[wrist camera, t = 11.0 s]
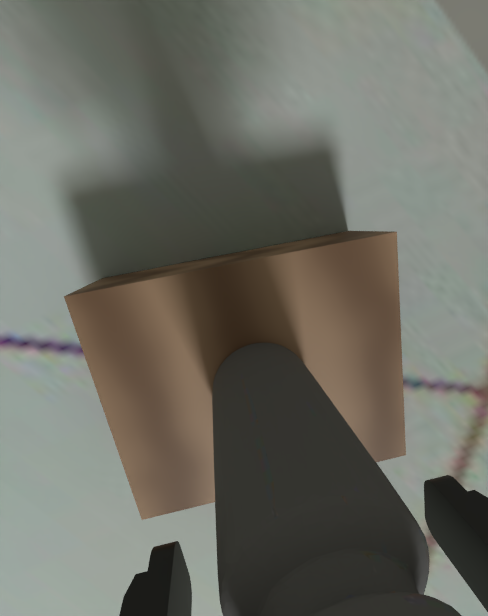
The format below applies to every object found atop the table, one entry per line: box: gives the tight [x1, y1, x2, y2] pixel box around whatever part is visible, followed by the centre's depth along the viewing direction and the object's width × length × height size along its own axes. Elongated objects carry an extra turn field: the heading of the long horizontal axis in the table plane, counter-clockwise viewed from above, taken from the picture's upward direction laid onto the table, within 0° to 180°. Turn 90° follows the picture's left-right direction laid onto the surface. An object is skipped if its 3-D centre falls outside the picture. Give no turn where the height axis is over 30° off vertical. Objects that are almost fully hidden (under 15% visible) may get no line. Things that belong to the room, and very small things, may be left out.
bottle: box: [212, 343, 461, 616], centre depth 11 cm, size 6×6×15 cm
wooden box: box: [64, 231, 406, 520], centre depth 21 cm, size 18×15×6 cm
